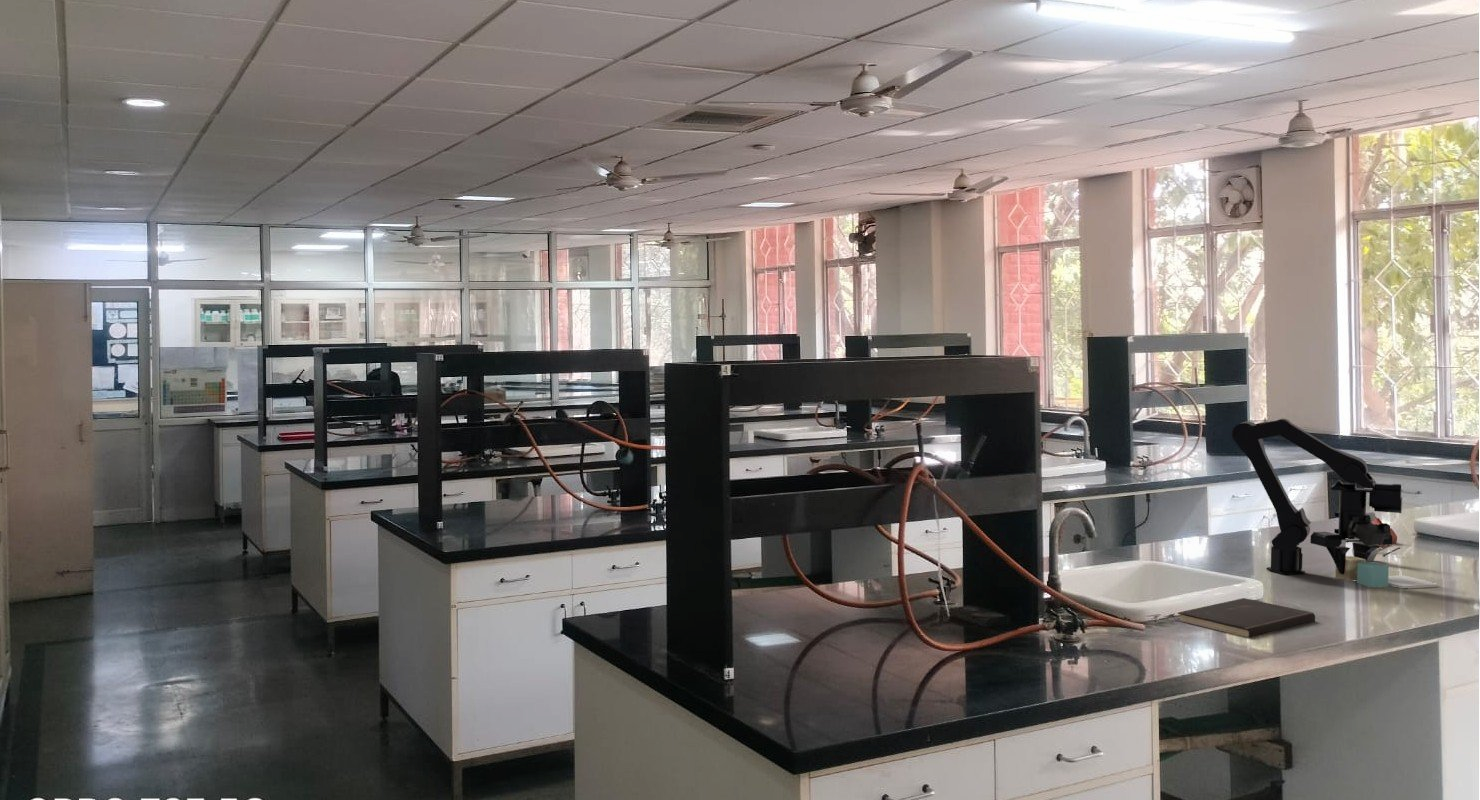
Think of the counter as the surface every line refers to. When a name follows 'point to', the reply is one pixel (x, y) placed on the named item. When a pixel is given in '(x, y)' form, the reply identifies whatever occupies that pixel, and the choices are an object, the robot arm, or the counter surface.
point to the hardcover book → (1247, 617)
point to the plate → (1409, 582)
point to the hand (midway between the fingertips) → (1350, 573)
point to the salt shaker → (1374, 553)
